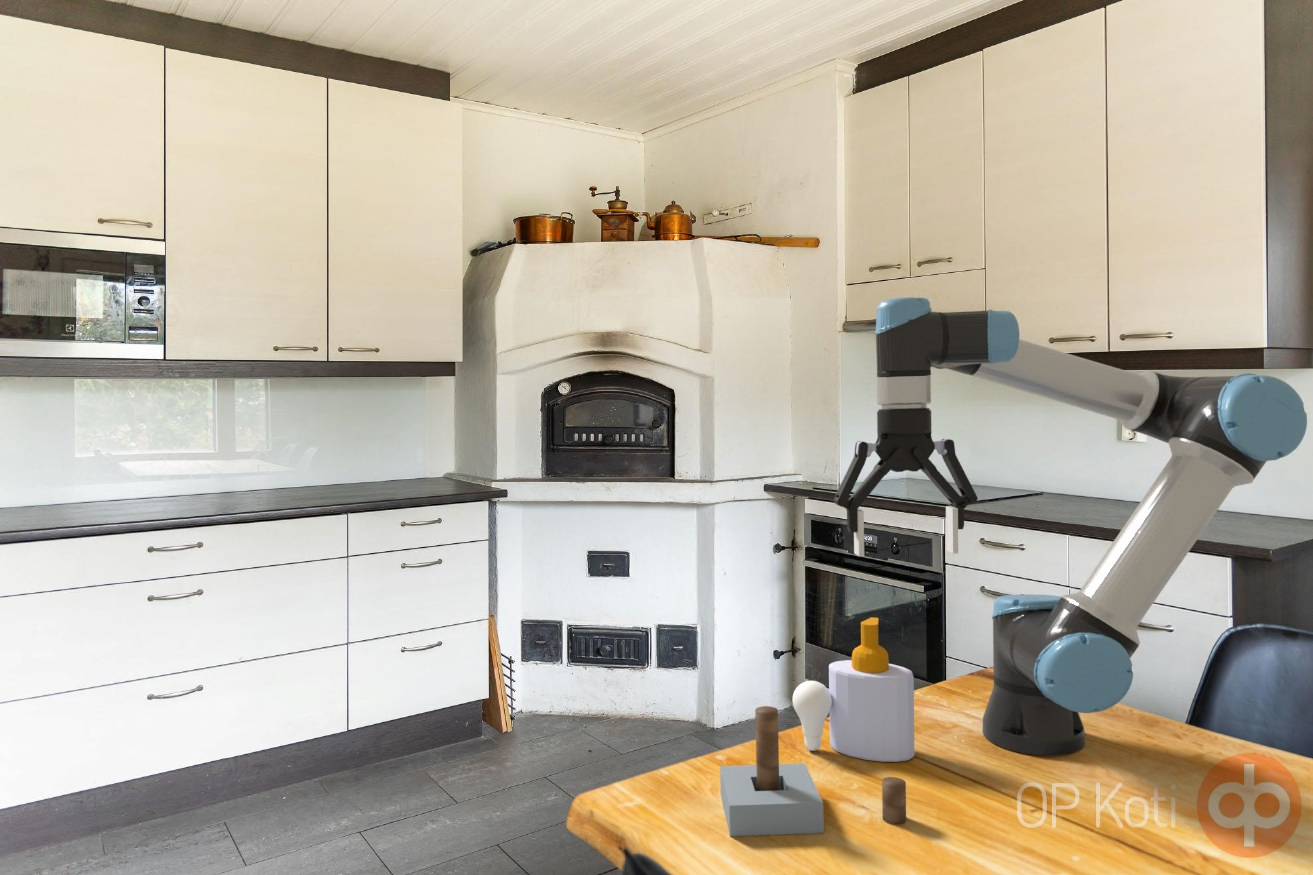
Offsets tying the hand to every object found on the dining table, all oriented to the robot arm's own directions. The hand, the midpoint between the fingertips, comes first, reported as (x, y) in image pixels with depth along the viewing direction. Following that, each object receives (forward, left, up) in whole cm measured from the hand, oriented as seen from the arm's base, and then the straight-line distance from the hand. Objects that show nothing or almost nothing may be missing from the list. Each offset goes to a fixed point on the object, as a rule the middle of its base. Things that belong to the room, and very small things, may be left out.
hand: (905, 553), depth 126 cm
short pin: (+6, +13, -33) cm, 36 cm away
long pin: (+22, +10, -33) cm, 41 cm away
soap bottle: (+3, -9, -33) cm, 34 cm away
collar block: (+22, +10, -33) cm, 41 cm away
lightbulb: (+12, -10, -33) cm, 36 cm away
